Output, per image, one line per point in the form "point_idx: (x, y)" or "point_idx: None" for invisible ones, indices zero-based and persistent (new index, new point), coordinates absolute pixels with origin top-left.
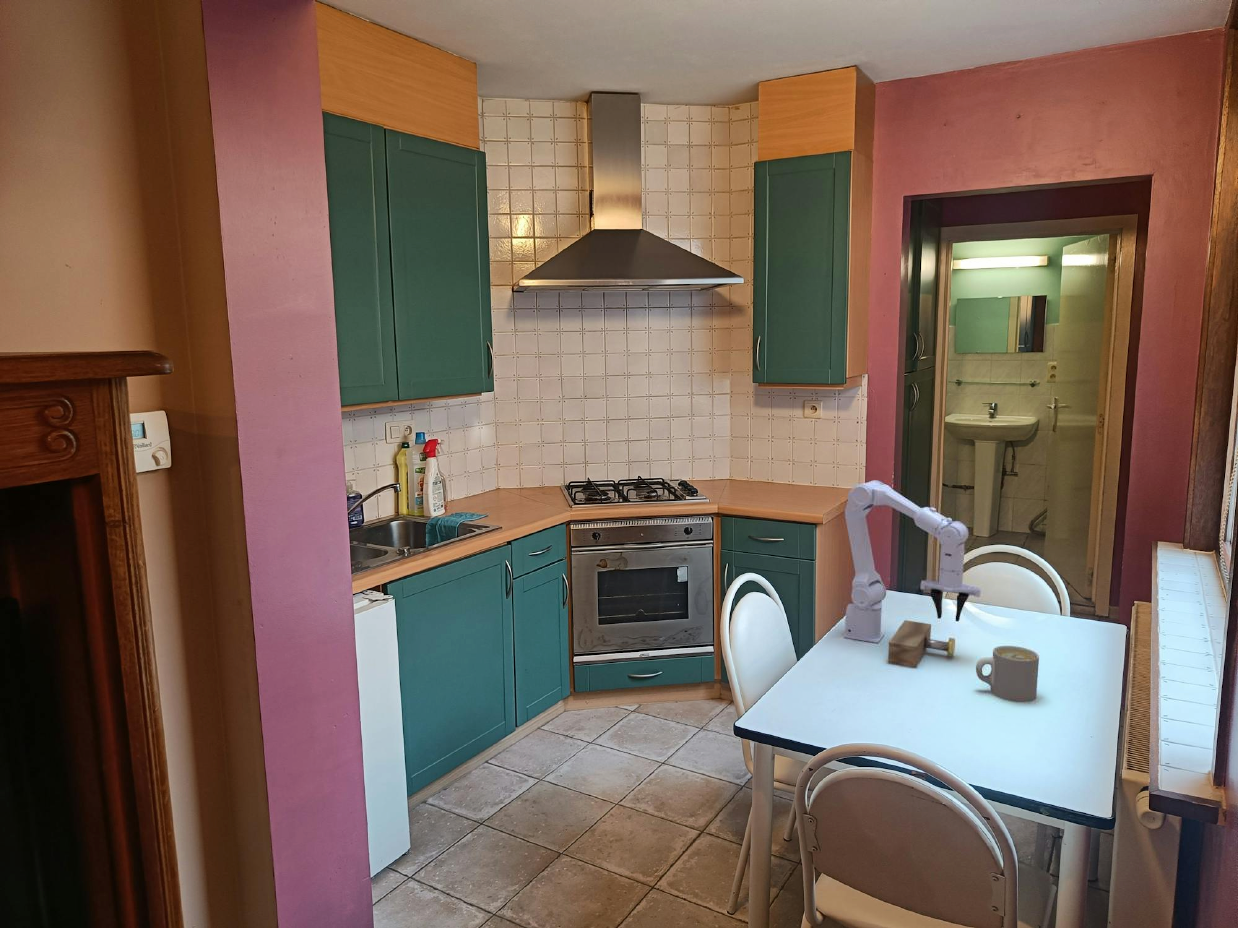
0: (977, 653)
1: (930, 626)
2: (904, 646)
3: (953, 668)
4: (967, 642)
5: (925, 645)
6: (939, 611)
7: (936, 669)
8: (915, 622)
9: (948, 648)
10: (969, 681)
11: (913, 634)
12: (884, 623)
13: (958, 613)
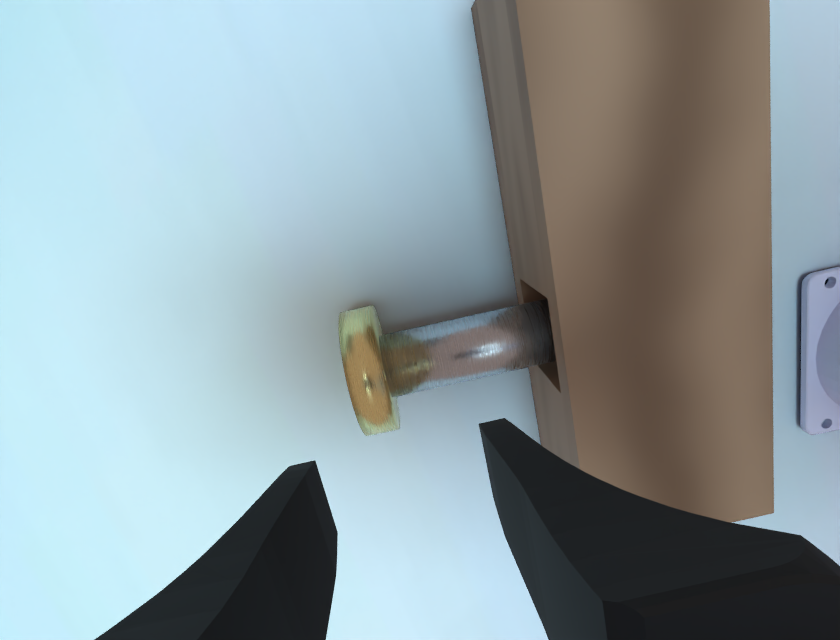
0: None
1: None
2: None
3: (282, 178)
4: (394, 607)
5: (525, 304)
6: (505, 452)
7: (355, 82)
8: None
9: (364, 311)
10: (96, 10)
11: (634, 256)
12: None
13: (253, 516)
